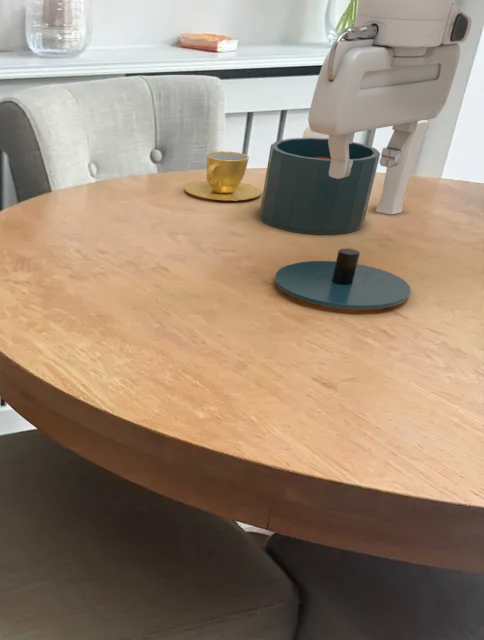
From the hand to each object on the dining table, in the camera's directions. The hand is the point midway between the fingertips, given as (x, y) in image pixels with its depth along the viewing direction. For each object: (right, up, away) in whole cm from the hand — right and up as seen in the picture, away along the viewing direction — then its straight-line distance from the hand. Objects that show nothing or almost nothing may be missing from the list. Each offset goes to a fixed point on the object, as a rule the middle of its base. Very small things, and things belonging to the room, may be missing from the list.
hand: (364, 171), depth 97 cm
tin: (+4, +8, +31) cm, 32 cm away
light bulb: (+9, +18, +44) cm, 49 cm away
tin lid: (0, -10, +7) cm, 12 cm away
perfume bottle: (+17, +12, +36) cm, 41 cm away
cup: (-7, +17, +43) cm, 46 cm away
